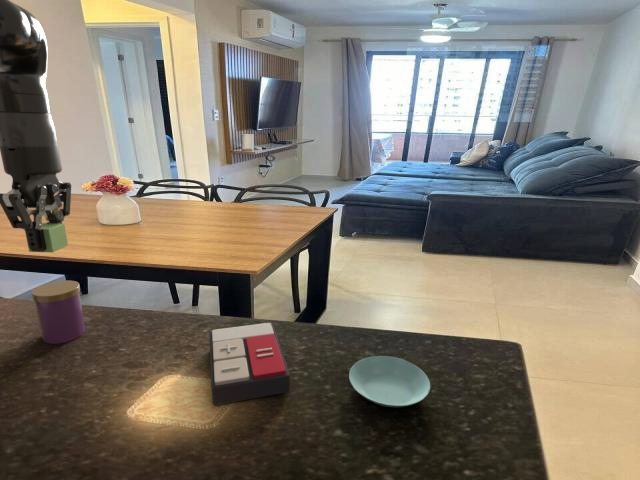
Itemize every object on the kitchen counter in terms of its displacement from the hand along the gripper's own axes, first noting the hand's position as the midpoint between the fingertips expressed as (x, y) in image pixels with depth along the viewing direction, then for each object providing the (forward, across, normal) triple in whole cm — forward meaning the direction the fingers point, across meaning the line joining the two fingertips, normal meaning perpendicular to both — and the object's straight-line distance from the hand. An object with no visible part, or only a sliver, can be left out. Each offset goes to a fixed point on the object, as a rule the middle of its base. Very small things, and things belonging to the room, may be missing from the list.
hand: (48, 246), depth 65 cm
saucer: (+17, +13, +57) cm, 61 cm away
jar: (+17, 0, 0) cm, 17 cm away
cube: (0, 0, 0) cm, 0 cm away
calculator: (+17, +9, +35) cm, 40 cm away
